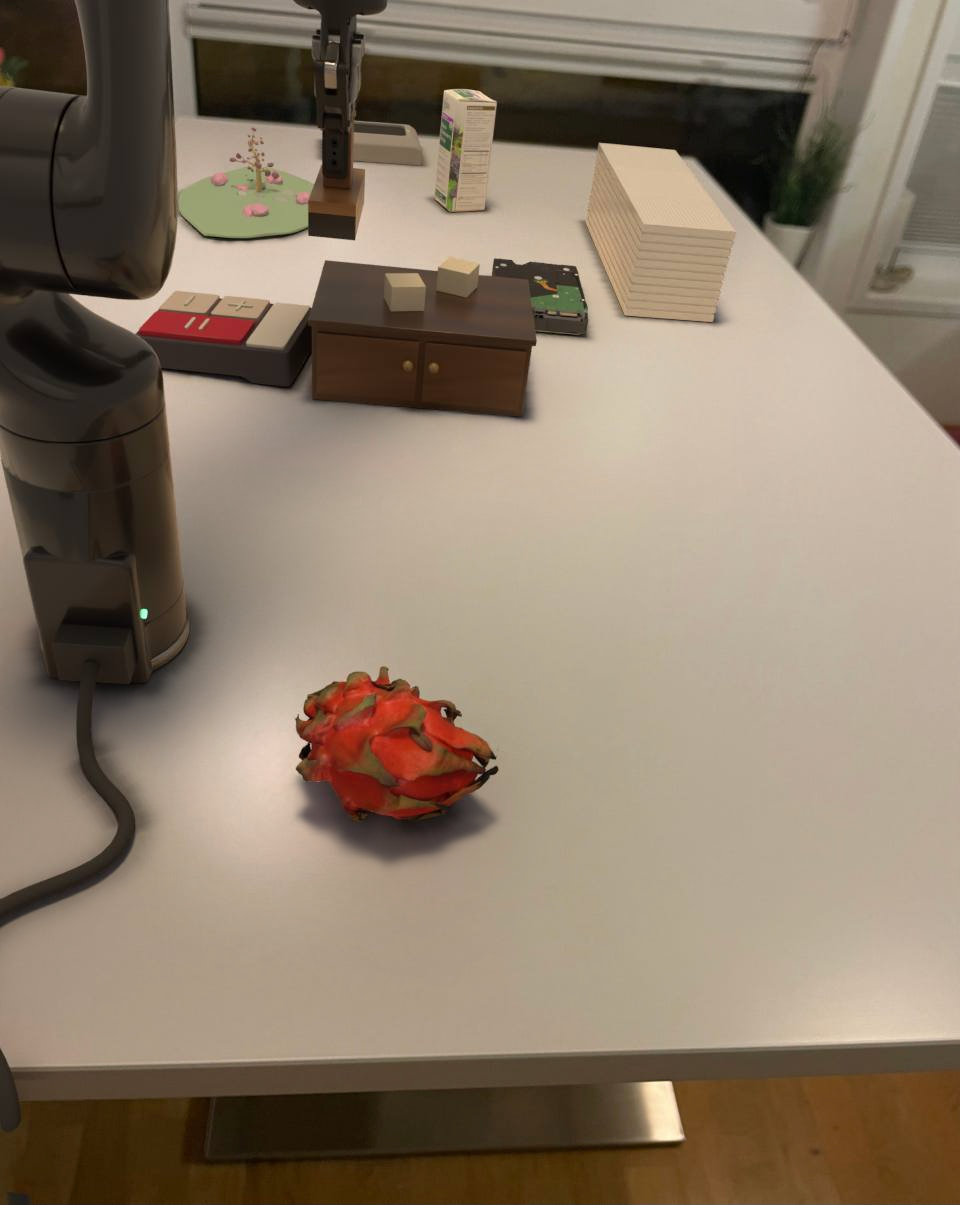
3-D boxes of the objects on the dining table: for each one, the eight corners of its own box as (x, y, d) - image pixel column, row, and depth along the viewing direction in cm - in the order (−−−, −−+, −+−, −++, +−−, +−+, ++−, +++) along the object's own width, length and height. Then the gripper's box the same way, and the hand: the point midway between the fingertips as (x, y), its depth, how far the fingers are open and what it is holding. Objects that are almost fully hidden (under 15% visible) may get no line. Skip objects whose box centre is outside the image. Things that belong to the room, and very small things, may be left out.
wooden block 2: (466, 298, 98) (469, 273, 96) (435, 290, 99) (437, 266, 97) (477, 287, 100) (480, 263, 99) (447, 280, 101) (449, 256, 99)
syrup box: (432, 199, 145) (440, 88, 136) (470, 197, 147) (480, 88, 138) (448, 212, 141) (458, 99, 132) (486, 211, 143) (498, 99, 134)
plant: (331, 248, 126) (332, 173, 120) (160, 235, 123) (153, 157, 118) (339, 186, 145) (341, 118, 140) (192, 173, 143) (187, 104, 137)
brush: (355, 240, 87) (358, 129, 81) (308, 236, 87) (307, 123, 81) (364, 202, 95) (367, 97, 89) (321, 197, 94) (321, 92, 89)
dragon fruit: (286, 771, 62) (471, 836, 62) (250, 805, 54) (464, 881, 53) (330, 640, 62) (517, 705, 61) (301, 654, 53) (517, 729, 53)
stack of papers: (712, 322, 120) (736, 231, 114) (624, 315, 119) (643, 223, 112) (658, 229, 145) (675, 149, 138) (585, 222, 144) (598, 142, 137)
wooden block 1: (424, 311, 94) (426, 286, 93) (390, 311, 94) (391, 286, 92) (416, 297, 97) (418, 272, 95) (383, 297, 96) (384, 273, 94)
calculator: (171, 285, 103) (316, 300, 102) (177, 326, 106) (318, 340, 105) (129, 329, 95) (287, 345, 94) (137, 371, 97) (290, 387, 97)
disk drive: (489, 280, 124) (495, 329, 112) (491, 257, 122) (498, 305, 110) (572, 287, 125) (588, 337, 113) (576, 264, 123) (592, 312, 111)
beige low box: (322, 115, 160) (417, 123, 162) (322, 140, 162) (415, 147, 164) (323, 132, 152) (422, 140, 155) (323, 158, 155) (421, 165, 157)
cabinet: (525, 422, 96) (537, 343, 91) (307, 403, 95) (307, 322, 90) (518, 352, 108) (528, 279, 103) (324, 334, 107) (325, 259, 102)
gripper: (302, -81, 82) (303, 144, 93) (277, -58, 72) (282, 193, 82) (394, -69, 83) (385, 153, 94) (383, -46, 72) (374, 202, 83)
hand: (337, 170), depth 88 cm, fingers closed on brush, 2 cm apart
